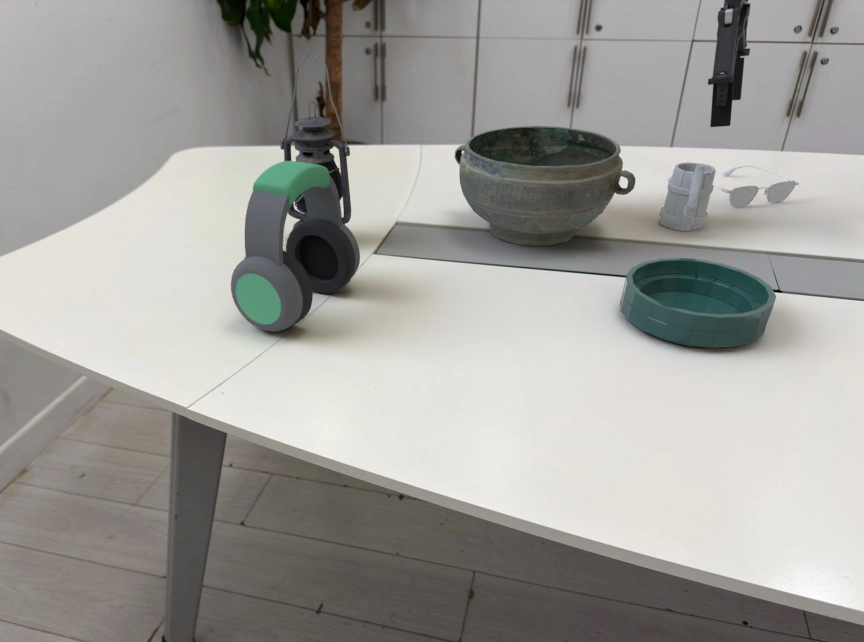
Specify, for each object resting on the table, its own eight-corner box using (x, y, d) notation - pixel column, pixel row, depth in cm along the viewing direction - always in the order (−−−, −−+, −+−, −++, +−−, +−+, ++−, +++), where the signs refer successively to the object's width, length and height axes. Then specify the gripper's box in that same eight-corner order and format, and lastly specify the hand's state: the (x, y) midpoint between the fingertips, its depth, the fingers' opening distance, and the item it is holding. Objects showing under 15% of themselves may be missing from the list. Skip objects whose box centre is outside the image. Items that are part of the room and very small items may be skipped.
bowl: (412, 233, 118) (414, 145, 110) (488, 194, 135) (495, 115, 126) (586, 279, 101) (605, 180, 92) (650, 228, 117) (670, 139, 109)
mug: (702, 218, 120) (721, 149, 114) (708, 242, 111) (729, 169, 104) (657, 214, 123) (672, 147, 116) (659, 238, 113) (676, 166, 107)
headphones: (296, 346, 87) (284, 193, 76) (229, 327, 91) (208, 180, 80) (366, 288, 100) (364, 151, 89) (304, 274, 105) (295, 143, 94)
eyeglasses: (723, 209, 124) (729, 188, 122) (663, 181, 138) (667, 161, 136) (794, 201, 126) (801, 179, 124) (728, 174, 141) (733, 154, 139)
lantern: (273, 248, 114) (254, 54, 98) (303, 227, 122) (290, 44, 105) (338, 259, 110) (330, 57, 93) (365, 236, 118) (362, 46, 101)
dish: (771, 308, 92) (783, 274, 89) (752, 367, 80) (765, 330, 77) (638, 280, 100) (645, 248, 97) (602, 330, 88) (609, 295, 85)
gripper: (720, -45, 108) (711, 92, 120) (695, -17, 92) (687, 139, 104) (775, -56, 104) (760, 88, 116) (758, -28, 88) (743, 136, 100)
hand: (726, 112), depth 110 cm, fingers open, 13 cm apart
